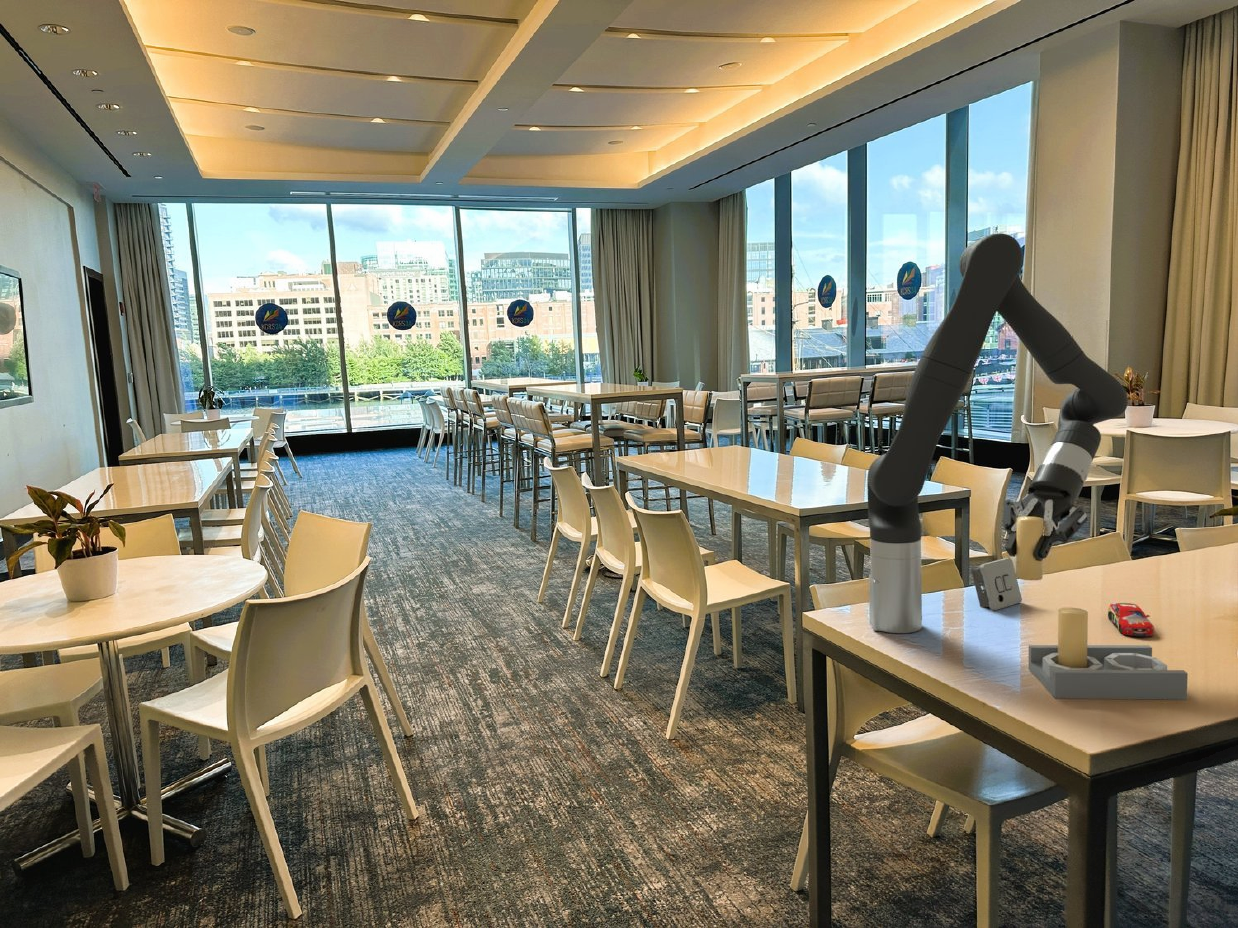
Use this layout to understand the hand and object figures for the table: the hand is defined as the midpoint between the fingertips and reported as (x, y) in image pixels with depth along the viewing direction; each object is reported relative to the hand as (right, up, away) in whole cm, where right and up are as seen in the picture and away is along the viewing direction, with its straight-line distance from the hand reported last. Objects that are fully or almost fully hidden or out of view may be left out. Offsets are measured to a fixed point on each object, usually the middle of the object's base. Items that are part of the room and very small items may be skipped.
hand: (1023, 555), depth 139 cm
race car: (+27, -15, +15) cm, 34 cm away
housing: (+8, -19, -10) cm, 22 cm away
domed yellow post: (+2, -4, +2) cm, 5 cm away
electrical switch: (+10, -14, +32) cm, 36 cm away
